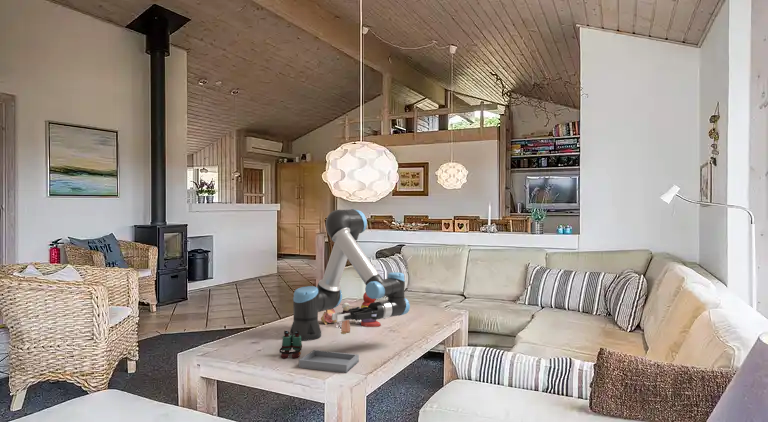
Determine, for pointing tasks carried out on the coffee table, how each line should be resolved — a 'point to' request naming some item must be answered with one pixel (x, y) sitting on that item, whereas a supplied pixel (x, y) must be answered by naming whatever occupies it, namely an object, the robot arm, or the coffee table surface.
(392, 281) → the robot arm
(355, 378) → the coffee table surface
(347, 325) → the grandmother figurine
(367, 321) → the stacking bear
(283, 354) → the binoculars
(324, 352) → the tray
